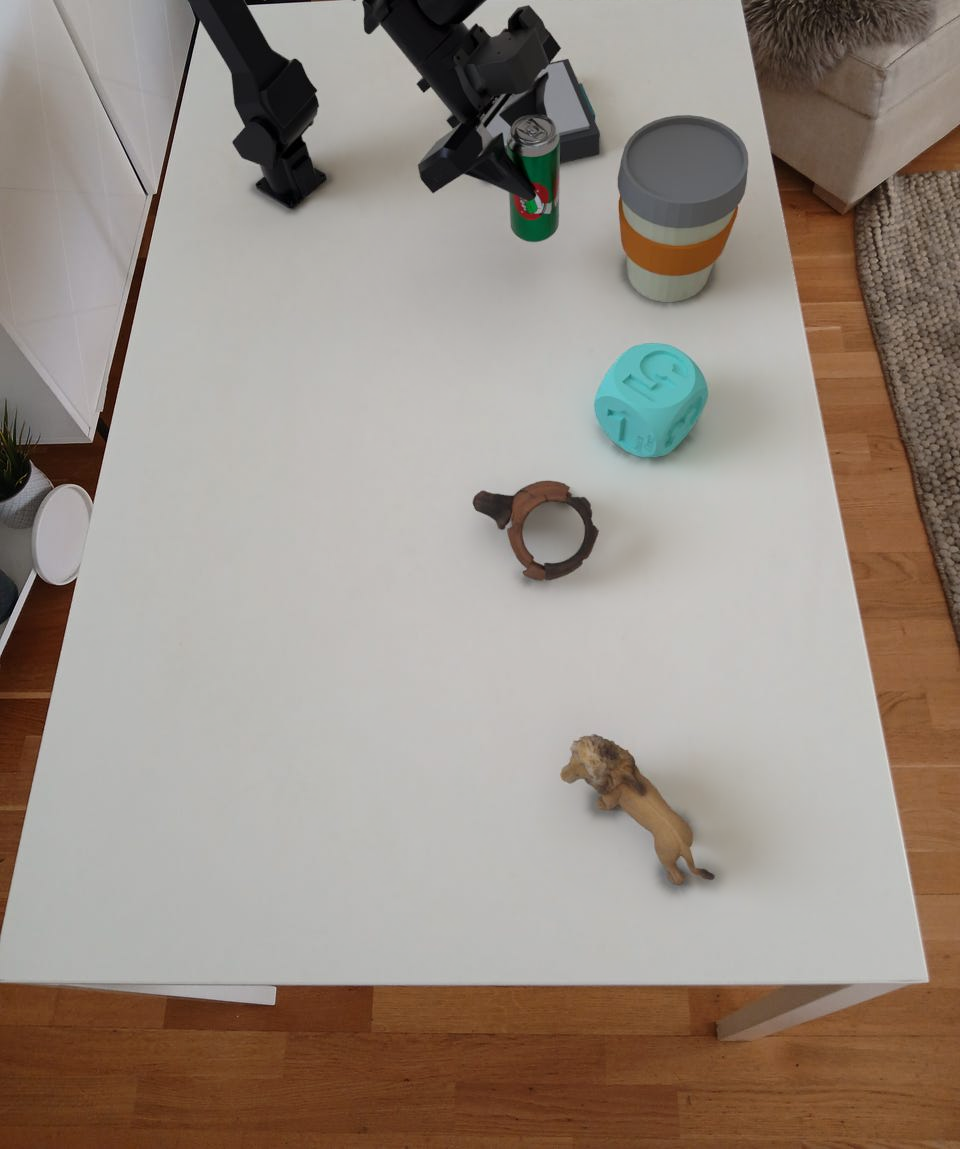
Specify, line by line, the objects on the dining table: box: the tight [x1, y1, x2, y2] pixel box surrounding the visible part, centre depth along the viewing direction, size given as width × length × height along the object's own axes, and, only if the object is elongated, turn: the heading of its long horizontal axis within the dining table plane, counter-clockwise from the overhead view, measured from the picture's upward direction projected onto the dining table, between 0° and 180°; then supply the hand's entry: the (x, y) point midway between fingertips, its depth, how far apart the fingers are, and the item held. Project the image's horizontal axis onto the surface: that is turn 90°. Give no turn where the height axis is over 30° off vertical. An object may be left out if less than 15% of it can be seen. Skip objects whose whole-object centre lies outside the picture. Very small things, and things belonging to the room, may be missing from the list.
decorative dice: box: [593, 342, 709, 458], centre depth 89 cm, size 8×8×8 cm
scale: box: [483, 58, 601, 164], centre depth 111 cm, size 15×14×4 cm
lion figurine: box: [559, 733, 716, 886], centre depth 72 cm, size 15×5×9 cm, turn 50°
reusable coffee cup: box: [617, 114, 749, 303], centre depth 94 cm, size 12×13×15 cm
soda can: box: [507, 114, 561, 243], centre depth 90 cm, size 5×5×12 cm
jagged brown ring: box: [472, 480, 600, 582], centre depth 86 cm, size 12×10×8 cm
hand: (545, 181), depth 90 cm, fingers closed on soda can, 5 cm apart
